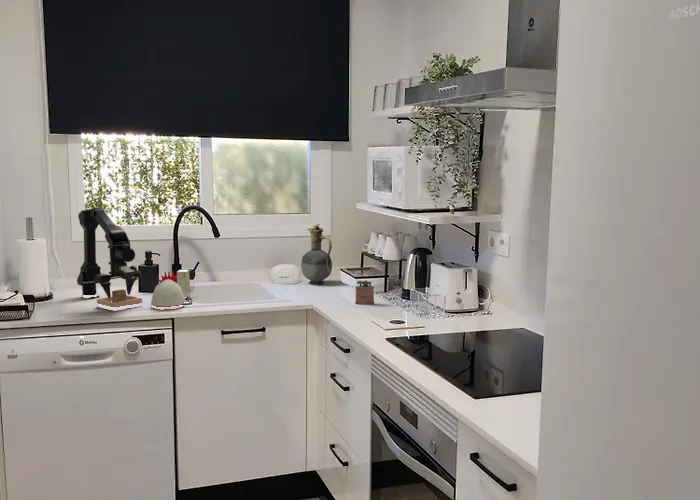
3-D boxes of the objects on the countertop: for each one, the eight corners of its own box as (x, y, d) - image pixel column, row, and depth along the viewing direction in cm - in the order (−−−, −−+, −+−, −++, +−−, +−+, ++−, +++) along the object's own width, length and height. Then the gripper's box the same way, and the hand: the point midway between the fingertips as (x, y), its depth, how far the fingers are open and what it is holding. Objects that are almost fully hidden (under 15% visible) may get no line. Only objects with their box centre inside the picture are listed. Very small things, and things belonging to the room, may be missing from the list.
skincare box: (187, 298, 296) (186, 271, 295) (177, 298, 296) (176, 271, 295) (190, 295, 303) (189, 269, 301) (181, 295, 303) (180, 269, 301)
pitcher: (315, 280, 341) (314, 221, 337) (339, 285, 327) (339, 224, 323) (298, 283, 334) (297, 223, 330) (322, 288, 320) (321, 225, 316)
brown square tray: (97, 307, 280) (96, 298, 279) (124, 302, 290) (124, 293, 289) (114, 311, 271) (114, 302, 271) (142, 306, 282) (141, 296, 281)
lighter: (374, 303, 285) (374, 280, 284) (373, 304, 282) (373, 281, 281) (355, 302, 286) (355, 279, 285) (354, 304, 283) (354, 281, 281)
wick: (112, 305, 279) (111, 291, 278) (123, 303, 283) (122, 289, 282) (116, 305, 278) (115, 291, 277) (126, 303, 282) (125, 289, 281)
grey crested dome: (187, 308, 277) (186, 272, 275) (153, 311, 272) (151, 275, 270) (182, 302, 290) (181, 268, 288) (150, 304, 285) (148, 270, 283)
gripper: (107, 264, 266) (109, 302, 268) (148, 258, 280) (149, 295, 282) (92, 261, 273) (94, 299, 275) (132, 256, 287) (134, 292, 289)
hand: (119, 296), depth 280 cm, fingers open, 9 cm apart
